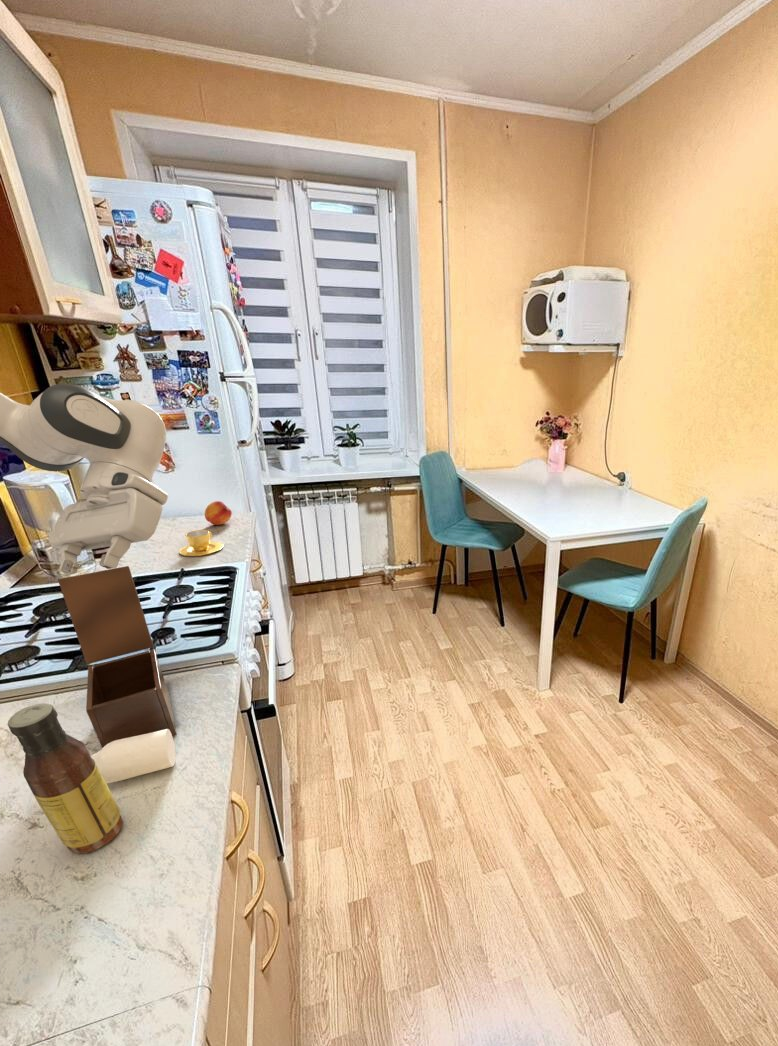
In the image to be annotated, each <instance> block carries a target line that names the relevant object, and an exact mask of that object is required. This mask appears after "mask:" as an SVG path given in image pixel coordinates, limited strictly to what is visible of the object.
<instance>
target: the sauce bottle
mask: <svg viewBox="0 0 778 1046" xmlns="http://www.w3.org/2000/svg"><path fill="white" fill-rule="evenodd" d="M58 715H59V714H58V712H57V710H56V709H55V707H54V706H53V705H52V704H50V703H45V702H43V703H36V704H33V705H29V706H26V707H24V708H21V709H19V710H18V711H16V712H15V713H14V714H12V716H11V717H9V719H8V721H7V726H8V728H9V731H10V732H11V734H12V735H13V736H15V737H16V738H17V740H18V741H19V744H20V745H21V747H22V750H23V753H24V766H23V772H22V774H23V777H24V779H25V782H26V783H27V785H28V787H29V789H30V791H31V793H32V795H33V796H34V798H35V800H36V802H37V803H38V805H39V807H40V808H41V810H42V812H43V813H44V815H45V816H46V818H47V820H48V821H49V824H51V826H52V828H53V829H54V830H55V832H56V834H57V836H58V837H59V839H60V841H61V842H62V844H63V845H64V846H66V848H67V850H69V851H71V852H73V853H75V854H89V853H92V852H94V851H97V850H98V849H100V848H102V847H104V846H106V845H107V844H109V843H111V842H112V841H113V840H114V838H116V837H117V836H118V835H119V833H120V831H121V830H122V828H123V825H124V821H123V820H124V819H123V816H122V814H121V810H120V808H119V805H118V804H117V801H116V800H115V798H114V796H113V794H112V792H111V789H110V788H109V786H108V783H106V782H105V780H104V778H103V776H102V774H101V772H100V771H99V769H98V767H97V765H96V763H95V761H94V759H92V757H91V756H92V755H91V754H90V752H89V750H88V748H87V746H86V744H85V743H84V742H83V741H82V740H79V739H77V738H75V737H73V736H71V735H69V734H67V733H66V731H65V730H64V729H63V727H62V726H61V723H60V722H59V720H58Z"/></svg>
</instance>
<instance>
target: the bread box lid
mask: <svg viewBox="0 0 778 1046" xmlns="http://www.w3.org/2000/svg"><path fill="white" fill-rule="evenodd" d="M57 581H58V584H59V587H60V590H61V593H62V596H63V599H64V603H65V606H66V608H67V610H68V613H69V617H70V619H71V622H72V625H73V628H74V631H75V634H76V637H77V640H78V643H79V646H80V648H81V652H82V654H83V658H84V660H85V663H86V665H90V664H94V663H98V662H102V661H106V660H110V659H113V658H117V657H121V656H122V657H123V656H124V655H128V654H132V653H133V654H134V653H136V652H142V651H145V650H148V649H152V648H154V643H153V640H152V636H151V633H150V630H149V626H148V623H147V621H146V617H145V614H144V611H143V610H144V609H143V607H142V604H141V601H140V598H139V594H138V591H137V587H136V585H135V581H134V579H133V575H132V572H131V568H130V565H126V566H120V567H116V568H112V569H105V570H98V571H93V572H89V573H88V572H87V573H83V574H78V575H77V574H76V575H71V576H65V577H61V578H58V579H57Z"/></svg>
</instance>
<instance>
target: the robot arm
mask: <svg viewBox="0 0 778 1046" xmlns="http://www.w3.org/2000/svg"><path fill="white" fill-rule="evenodd" d="M166 439H167V429H166V425H165V422H164V420H163V419H162V417H161V416H160V415H159V413H157V412H156V410H154V409H152V408H151V407H149V406H148V405H146V404H144V403H142V402H139V401H137V400H133V399H122V400H119V399H112V398H109V397H106V396H102V395H98V394H96V393H94V391H93V392H92V391H91V390H89V389H88V388H85V387H83V386H80V385H78V384H77V385H76V384H72V383H57V384H53V385H51V386H49V387H47V388H46V389H45V390H44V391H42V392H41V393H40V394H38V396H37V397H35V398H34V400H33V401H32V402H31V403H30V404H24V403H20V402H17V401H16V400H13V399H12V398H11V397H8V396H7V395H5V394H4V393H2V392H0V443H2V444H3V445H4V446H6V447H7V448H8V449H9V450H10V452H12V453H13V454H14V455H15V456H17V457H18V458H19V459H20V460H22V461H23V462H25V463H26V464H28V465H30V466H32V467H34V468H36V469H39V470H42V471H47V472H65V471H68V470H72V469H73V468H76V466H78V465H79V464H80V463H81V462H82V461H83V460H84V459H86V460H87V461H88V462H89V466H88V469H87V471H86V473H85V475H84V479H83V481H82V483H81V486H80V488H79V494H80V495H81V496H82V498H80V499H78V500H76V501H75V503H71V504H68V505H67V506H65V507H64V509H63V510H62V511H61V512H60V514H59V515H58V517H57V520H56V521H55V523H54V526H53V527H52V529H51V532H50V534H49V536H48V544H49V545H50V546H51V547H53V548H56V549H58V550H60V556H61V563H60V565H59V569H58V570H59V572H61V573H63V574H66V575H73V574H74V575H75V574H77V573H78V570H79V567H80V563H78V557H80V556H81V553H82V552H83V551H90V550H97V549H102V548H108V549H107V551H106V553H103V554H102V555H101V557H100V561H99V565H100V567H102V568H105V569H106V570H109V569H114V568H118V566H119V563H120V560H121V558H123V556H124V555H125V554H126V553H127V552H128V551H129V549H130V548H131V545H132V544H135V543H141V542H147V541H149V540H150V539H151V537H153V535H154V534H155V533H156V531H157V528H158V525H159V522H160V521H161V520H160V519H161V516H162V513H163V505H166V503H167V501H168V498H169V494H168V493H167V492H166V491H164V490H163V489H161V488H159V486H157V485H156V484H153V476H154V473H156V471H157V470H158V469H159V466H160V464H161V461H162V457H163V454H164V450H165V446H166Z"/></svg>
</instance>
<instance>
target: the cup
mask: <svg viewBox="0 0 778 1046" xmlns="http://www.w3.org/2000/svg"><path fill="white" fill-rule="evenodd" d="M184 536H185V538H186V541H187V543H188V545H186V546H184V547H182V548H181V549H180V550H179V552H178V553H179V554H180V555H181V556H184V557H200V556H206V555H210V554H213V553H215V552H218V551H220V550H222V549H223V547H224V544H223V543H222V542H218V541H211V540H212V538H213V533H212V531H211V530H207V529H197V530H191V531H188V532H186V533H185V535H184Z"/></svg>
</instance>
